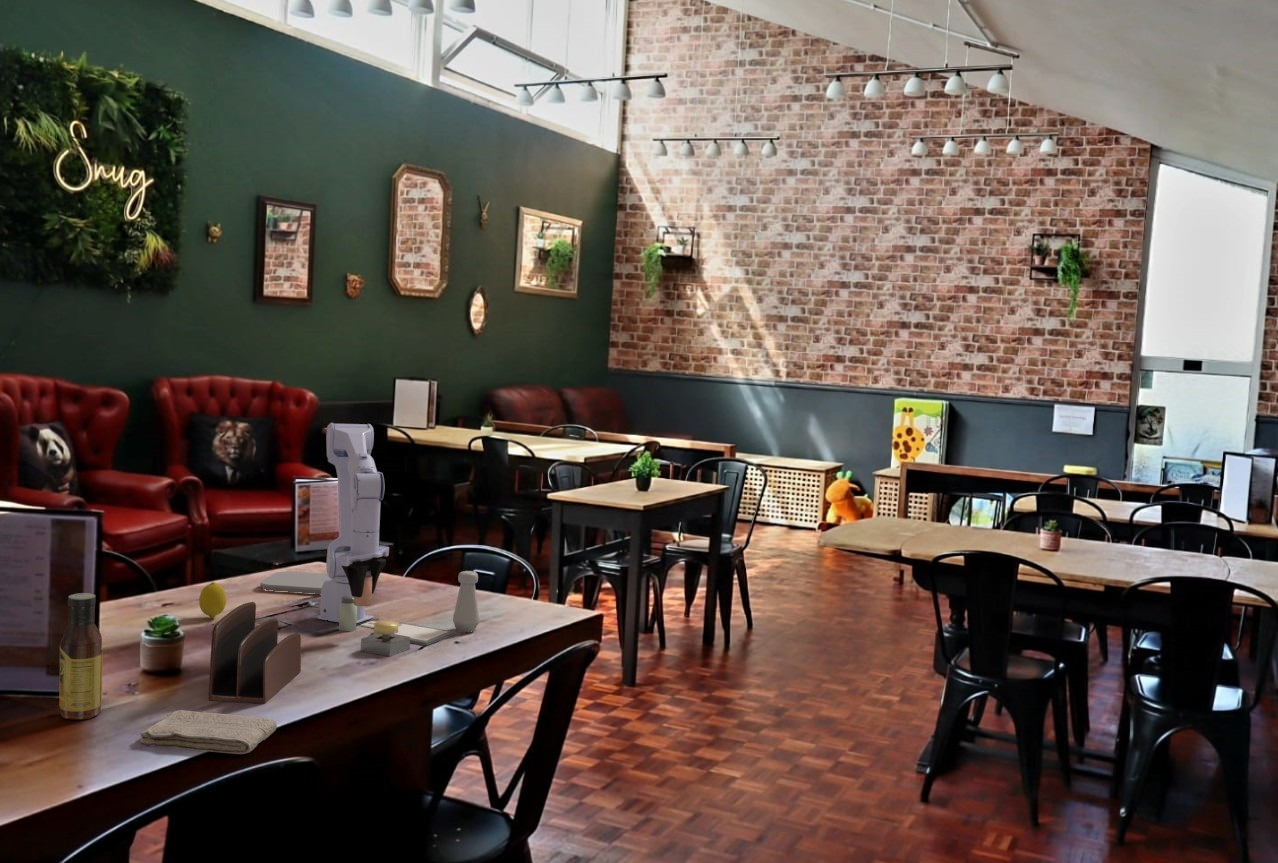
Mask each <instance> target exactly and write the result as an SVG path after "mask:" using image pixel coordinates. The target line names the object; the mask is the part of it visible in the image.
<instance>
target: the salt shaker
mask: <svg viewBox="0 0 1278 863" xmlns="http://www.w3.org/2000/svg"><path fill="white" fill-rule="evenodd" d="M457 578H458V579H457V580H458V583H460V586H459V589H458V595H457V597H456V598H457V599H456V603H455V608H454V612H453V616H452V622H453V625H454V628H455V630H456V631H457V632H458V631H459V633H465V632H468V633H472V632H471V631H474V632H475V630H476V629H477V627H478V625H479V623H480V613H479V607H478V601H477V600H478V598H477V591H476V584H477V583H478V581H479V574H478V573H477V572H475V571H473V570H465V571H464V570H463V571H461V572H459V573H458V576H457Z"/></svg>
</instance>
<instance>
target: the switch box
mask: <svg viewBox="0 0 1278 863" xmlns="http://www.w3.org/2000/svg"><path fill="white" fill-rule="evenodd" d="M410 646H411V643H410V637H409V636H403V635H397V634H390V640H382V634H377V633H376V634H374V635H371V634H370V635H368V636H365V637H363V638H360V652H363V651H364V653H369V654H375V655H378V656H379V655H380V656H385V657H392V656H394V655H397V654H399V653H402V652H405V651H407V650H410V648H411V647H410Z"/></svg>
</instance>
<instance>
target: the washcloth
mask: <svg viewBox="0 0 1278 863" xmlns="http://www.w3.org/2000/svg"><path fill="white" fill-rule="evenodd" d="M277 727H278V724H277V722H276V721H274V720H273V719H270V718H264V717H251V716H245V715H240V714H230V713H229V714H227V713H218V712H214V713H213V712H203V711H195V710H194V711H193V710H185V709H182V710H181V709H180V710H175V711H174V712H170V713H168V714H167V715H166V717H164V718H163V719H162V720H160V721H158V722H156V723H155V724H153V725H151V726H149V727H147V728H146V729H145V730H143V731H140V736H141V738H139V743H141V744H142V745H143V744H144V745H148V746H152V747H161V748H166V749H167V748H169V749H178V750H179V749H180V750H188V751H189V750H190V751H200V752H201V751H202V752H212V753H223V754H224V753H225V754H233V755H245V754H248V753H251V752H252V751H254V749H255V748H256V747H257V746H258V745H259V744H260V743H261V742H262V741H265V740H266V739H268V738H269V737H270V736H271V735H272V734H273V733H274V732H275V731H276V729H277Z"/></svg>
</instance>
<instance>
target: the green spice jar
mask: <svg viewBox="0 0 1278 863" xmlns="http://www.w3.org/2000/svg"><path fill="white" fill-rule="evenodd" d="M356 622H357V606H355V605H354V596H343V597H342V601H340V616H339V622H338V631H341V632H345V631H349V632H354V630H355V631H356V630H357V623H356Z"/></svg>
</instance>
